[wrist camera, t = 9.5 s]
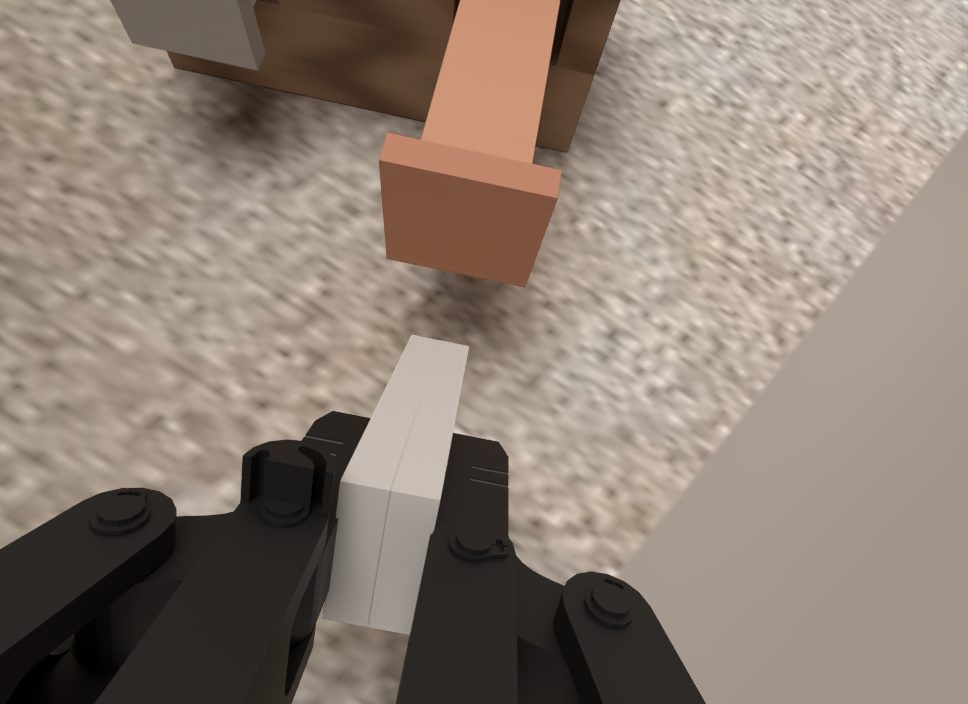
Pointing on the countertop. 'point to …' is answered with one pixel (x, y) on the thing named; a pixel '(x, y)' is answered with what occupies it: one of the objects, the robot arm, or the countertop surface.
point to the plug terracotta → (477, 150)
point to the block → (405, 55)
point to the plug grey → (196, 28)
